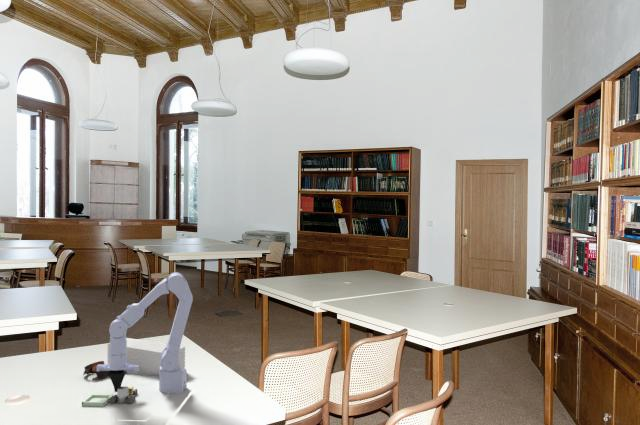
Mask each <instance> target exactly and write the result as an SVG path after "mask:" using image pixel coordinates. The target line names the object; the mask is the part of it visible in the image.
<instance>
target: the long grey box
mask: <svg viewBox="0 0 640 425" xmlns="http://www.w3.org/2000/svg"><path fill="white" fill-rule="evenodd" d="M126 340H127V360H126V363H127V364H133V365H139V371H138V372H134V371H127V372H126V373H128V374H134V375H139V376H140V375H141V376H159V373H160V367H161V353H162V351H163V350H164V349H165V348H166V345H167V343H163V342H157V341H151V340H144V339H136V338H130V337H126ZM178 358H179V365H180V368H182V369H186V346H182V345H180V351H179V355H178ZM106 364H109V343H107V362H106Z"/></svg>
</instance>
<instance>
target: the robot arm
mask: <svg viewBox="0 0 640 425" xmlns="http://www.w3.org/2000/svg"><path fill="white" fill-rule="evenodd" d="M170 292H171V293H172V294H174V295H175V296H176V297H177V298H178V300H179V301H178V305H177V308H176V312H175V315H174V318H173V323H172V325H171V326H172V327H171V331H170V333H169V337H168V340H167V342H166V344H167V345H166V348H165V349H164V350H163V351H162V353H161V367H160V373H159V375H158V376H159V378H158V379H159V383H158V384H159V388H158V389H159V390H158V391H159V392H161V393H165V394H166V393H167V394H170V395H171V394H182V393H184V392H185V390H186V389H187V381H188V380H187V379H188V378H187V375H188V374H187V373H188V372H187V369H186V368H185V369H182V368H180V365H179V358H178V355H179V351H180V346H181V345H182V340H183V336H184V333H185V329H186V326H187V322H188V318H189V314H190V311H191V308H192V304H193V302H194V301H193V300H194V298H193V297H194V296H193V293H192V291H191V289H190V286H189V283H188V280H187V279H186V278H185V276H184V275H183V274H182V273H180V272H178V271H177V272H176V271H175V272H171V273H170V274H168V276H167V277H165V278H163V279H162V280H161V281H160V282H158V283H157V284H156V285H155V286H154V288H152V290H150V291H149V292H148V293H147V294H146V295H145V296H144V297H143V298H142V299H141V300H140V301H139V302H137V303H135V302H134V303H131V304H128V305H127V306H126V309H125V310H124V311H122V313H121V314H120V315H117V316H116V319H114V320H112V322H111V323H110V325H109V327H108V328H109V329H108V331H109V332H108V333H109V343H108V344H109V364H107V363H104V364H99V365H97V371H110V373H109V374H108V378H109V379H110V381H111V383H112V385H113V388H114V393H117V389H118V388H119V387H121V386H122V384H123V381H124V379H125V376H126V374H127V373H128V372H127V371H134V372H138V371H139V365H133V364H127V363H126V360H127V340H126V338H127V331H128V329H130V328H131V327H133V326H134V325H135V324H136V323H137V322H138V321H140V319H141V318H142V317H144V316H145V310H146V309H147V308H148V307H149V306H150V305H151V304H152V303H154V302H155V301H156V300H157V299H158V298H159V297H160V296H162V295H168V294H170Z"/></svg>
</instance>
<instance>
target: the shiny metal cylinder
mask: <svg viewBox="0 0 640 425" xmlns="http://www.w3.org/2000/svg"><path fill="white" fill-rule="evenodd" d="M129 387H130V386H127V387H119V388H118V389H117V392H116V393H117V394H116V395H117V402H116V403H117V405H125V404H127V399H128V398H129V397H130V395H129Z"/></svg>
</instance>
